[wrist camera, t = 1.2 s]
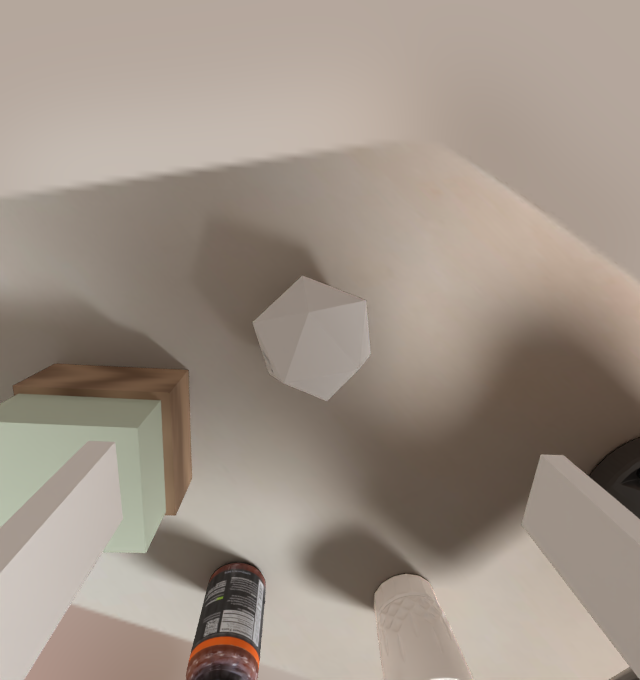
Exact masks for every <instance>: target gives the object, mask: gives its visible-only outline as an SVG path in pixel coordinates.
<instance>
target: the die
mask: <svg viewBox="0 0 640 680" xmlns="http://www.w3.org/2000/svg"><path fill="white" fill-rule="evenodd" d="M252 323H253V326H254V330H255V333H256V336H257V339H258V342H259V345H260V348H261V351H262V354H263V357H264V360H265V363H266V366H267V369H268V373H269V375H271V376H272V377H274V378H276V379H277V380H279V381H280V382H282V383H283V384H285V385H288V386H290V387H293V388H295V389H298V390H300V391H303V392H305V393H308V394H310V395H313V396H315V397H318V398H320V399H323V400H325V401H328V400H329V399H330V398H331V397H332V396H333V395H334V394H335V393H336V392H337V391H338V390H339V389H340V388H341V387H342V386H343V385H344V384H345V383H346V382H347V381H348V380H349V379H350V378H351V377H352V376H353V375H354V374H355V373H356V372H357V371H358V370H359V369H360V368H361V366H362V365H363V364H364V363H365V361H366V360H367V359H368V358H369V356H370V355H371V350H370V338H369V326H368V314H367V303H366V300H364V299H362V298H359V297H356V296H354V295H351V294H349V293H346V292H344V291H341V290H339V289H336V288H334V287H331V286H328V285H326V284H323V283H321V282H318V281H316V280H313V279H311V278H308V277H305V276H303V275H302V276H301V277H300V278H299V279H298V280H297V281H296V282H295V283H294V284H293V285H292V286H291V287H289V288H288V289H287V290H286V291H285V292H284V293H283V294H282V295H281V296H280V297H279V298H278V299H277V300H276V301H275V302H273V303H272V304H271V305H270V306H269V307H268V308H267V309H266V310H265V311H264V312H263V313H262V314H261V315H260V316H258V317H257V318H256V319H255V320H254V321H253V322H252Z"/></svg>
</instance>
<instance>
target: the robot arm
mask: <svg viewBox="0 0 640 680" xmlns="http://www.w3.org/2000/svg"><path fill="white" fill-rule="evenodd" d="M122 520H123V515H122V504H121V494H120V484H119V474H118V464H117V454H116V444H115V442H105V441H87V442H86V443H85V444H84V445H83V446H82V447H81V448H80V449H79V450H78V451H77V452H76V453H75V454H74V455H73V456H72V457H71V458H70V459H69V460H68V461H67V462H66V463H65V464H64V465H63V466H62V467H61V468H60V469H59V470H58V471H57V472H56V473H55V474H54V475H53V476H52V477H51V478H50V479H49V480H48V481H47V482H46V483H45V484H44V485H43V486H42V487H41V488H40V489H39V490H38V491H37V492H36V493H35V494H34V495H33V496H32V497H31V498H30V499H29V500H28V501H27V502H26V503H25V504H24V505H23V506H22V507H21V508H20V509H19V510H18V511H17V512H16V513H15V514H14V515H13V516H12V517H11V518H10V519H9V520H8V521H7V522H6V523H5V524H4V525H3V526H1V527H0V680H24V679H25V678H26V676H27V674H28V673H29V671H30V669H31V668H32V666H33V665H34V663H35V661H36V660H37V658H38V656H39V655H40V653H41V652H42V650H43V648H44V647H45V645H46V643H47V641H48V640H49V639H50V637H51V635H52V634H53V632H54V630H55V629H56V627H57V625H58V624H59V622H60V621H61V619H62V617H63V616H64V614H65V612H66V611H67V609H68V607H69V606H70V604H71V603H72V601H73V599H74V598H75V596H76V595H77V593H78V591H79V590H80V588H81V586H82V585H83V583H84V581H85V580H86V578H87V577H88V575H89V573H90V572H91V570H92V568H93V567H94V565H95V564H96V562H97V560H98V559H99V557H100V555H101V554H102V552H103V551H104V549H105V547H106V546H107V544H108V542H109V541H110V539H111V537H112V536H113V534H114V533H115V531H116V529H117V528H118V526H119V524H120V523H121V521H122ZM521 525H522V526H523V528H524V529H525V530H526V532H527V533H528V534H529V535H530V537H531V538H532V539H533V541H534V542H535V543H536V545H537V546H538V547H539V549H540V550H541V551H542V552H543V554H544V555H545V556H546V558H547V559H548V560H549V562H550V563H551V564H552V566H553V567H554V568H555V569H556V571H557V572H558V573H559V575H560V576H561V577H562V579H563V580H564V581H565V583H566V584H567V585H568V586H569V588H570V589H571V590H572V592H573V593H574V594H575V596H576V597H577V598H578V600H579V601H580V602H581V603H582V605H583V606H584V607H585V609H586V610H587V611H588V613H589V614H590V615H591V617H592V618H593V619H594V620H595V622H596V623H597V624H598V626H599V627H600V628H601V630H602V631H603V632H604V634H605V635H606V636H607V637H608V639H609V640H610V641H611V643H612V644H613V645H614V647H615V648H616V649H617V651H618V652H619V653H620V654H621V656H622V657H623V658H624V660H625V661H626V662H627V664H628V665H629V666H630V667H629V668H627V669H625V670H624V671H622V672H620V673H619V674H617V675H616V676H614V677H612V678H611V679H609V680H640V438H638V439H635V440H633V441H631V442H629V443H627V444H625V445H623V446H621V447H620V448H618V449H617V450H615V451H614V452H612V453H611V454H610V455H608V456H607V457H606V458H605V459H604V460H603V461H602V462H601V463H600V464H599V465H598V466H597V467H596V468H595V469H594V471H593V472H592V473H591V475H590V476H588V475H586V474H585V473H584V472H583V471H582V470H580V469H579V468H578V467H577V466H576V465H574V464H573V463H572V462H571V461H570V460H569V459H567V458H566V457H565V456H564V455H540V459H539V463H538V466H537V470H536V473H535V477H534V481H533V484H532V488H531V491H530V495H529V498H528V502H527V506H526V509H525V513H524V516H523V520H522V524H521Z"/></svg>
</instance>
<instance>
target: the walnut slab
mask: <svg viewBox="0 0 640 680" xmlns="http://www.w3.org/2000/svg"><path fill="white" fill-rule="evenodd" d="M13 392H14V396H15V395H17V394H39V395H59V396H80V397H101V398H122V399H143V400H161V414H162V436H163V458H164V480H165V501H166V513H165V515H176V513H177V511H178V509H179V507H180V504H181V502H182V500H183V498H184V495H185V493H186V491H187V489H188V486H189V484H190V482H191V480H192V464H191V432H190V400H189V370H180V369H158V368H137V367H115V366H94V365H72V364H53V365H51V366H49V367H48V368H46V369H44V370H42V371H40V372H38V373H36V374H34V375H32V376H30V377H29V378H27V379H25V380H23V381H21V382H19V383H17V384H15V385H13Z"/></svg>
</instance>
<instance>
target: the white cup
mask: <svg viewBox="0 0 640 680" xmlns="http://www.w3.org/2000/svg"><path fill="white" fill-rule="evenodd" d="M374 610H375V616H376V622H377V635H378V641H379V650H380V658H381V665H382V671H383V677H384V680H474V679H473V676H472V674H471V672H470V670H469V667H468V665H467V663H466V660H465V658H464V656H463V653H462V651H461V649H460V646H459V644H458V641H457V639H456V637H455V636H454V633H453V631H452V628H451V626H450V624H449V622H448V620H447V618H446V615H445V613H444V611H443V609H442V608H441V606H440V604H439V602H438V600H437V597H436V595H435V593H434V591H433V589H432V587H431V585H430V583H429V582H428V581H427V580H425V579H424V578H422V577H420V576H418V575H412V574H402V575H398V576H393V577H391V578H390V579H388V580H386V581H385V582H383V583H382V584H381V585H380V586H379V588H378V589H377V591H376V592H375V594H374Z"/></svg>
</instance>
